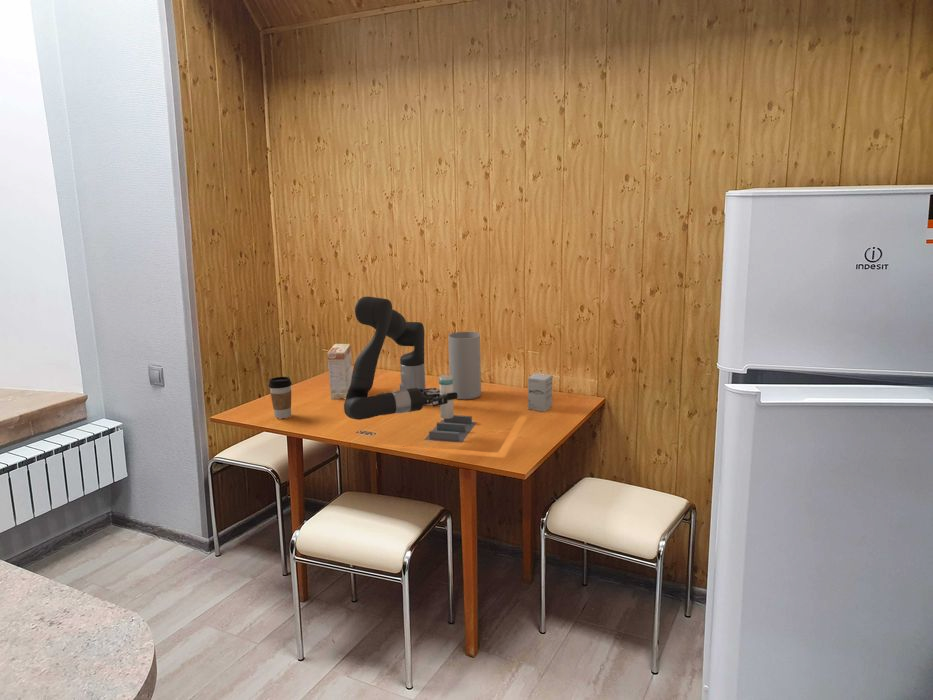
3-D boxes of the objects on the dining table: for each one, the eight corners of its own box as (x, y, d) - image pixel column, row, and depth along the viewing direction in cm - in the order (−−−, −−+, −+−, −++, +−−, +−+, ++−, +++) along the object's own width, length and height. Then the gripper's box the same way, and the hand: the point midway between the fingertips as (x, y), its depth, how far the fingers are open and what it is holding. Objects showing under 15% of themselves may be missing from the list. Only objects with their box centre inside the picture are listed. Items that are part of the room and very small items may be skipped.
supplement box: (527, 409, 274) (527, 377, 271) (534, 404, 280) (534, 372, 277) (545, 412, 270) (545, 379, 267) (552, 406, 277) (552, 374, 274)
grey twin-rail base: (424, 443, 243) (423, 432, 242) (442, 423, 261) (441, 413, 260) (461, 446, 239) (461, 435, 238) (477, 426, 258) (476, 415, 257)
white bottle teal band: (438, 418, 243) (437, 377, 239) (442, 414, 247) (441, 374, 244) (451, 419, 241) (450, 378, 238) (455, 414, 246) (454, 375, 242)
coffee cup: (267, 419, 271) (263, 380, 268) (280, 412, 279) (276, 374, 275) (286, 421, 268) (282, 382, 265) (298, 414, 276) (295, 376, 272)
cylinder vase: (454, 401, 286) (452, 339, 280) (447, 392, 298) (445, 333, 292) (484, 398, 289) (483, 337, 283) (476, 389, 300) (475, 330, 294)
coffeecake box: (337, 388, 307) (334, 343, 303) (354, 388, 307) (351, 343, 302) (329, 399, 293) (326, 352, 288) (347, 399, 293) (344, 352, 288)
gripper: (413, 395, 229) (462, 388, 236) (398, 384, 242) (445, 377, 249) (414, 418, 231) (463, 410, 238) (399, 405, 244) (446, 398, 251)
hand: (453, 393), depth 243 cm, fingers closed on white bottle teal band, 4 cm apart
